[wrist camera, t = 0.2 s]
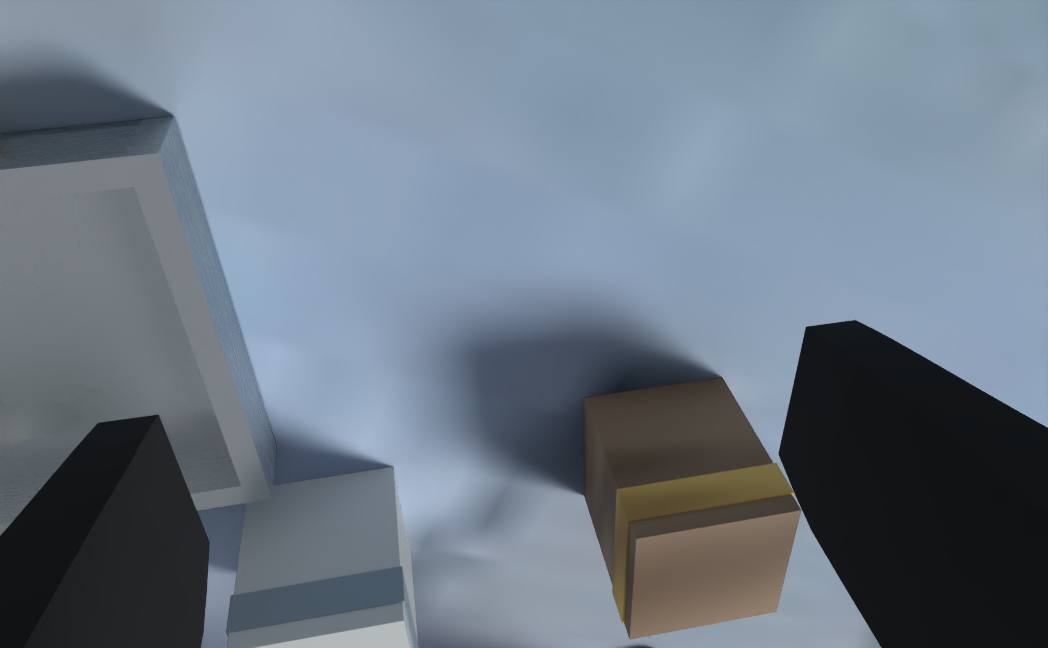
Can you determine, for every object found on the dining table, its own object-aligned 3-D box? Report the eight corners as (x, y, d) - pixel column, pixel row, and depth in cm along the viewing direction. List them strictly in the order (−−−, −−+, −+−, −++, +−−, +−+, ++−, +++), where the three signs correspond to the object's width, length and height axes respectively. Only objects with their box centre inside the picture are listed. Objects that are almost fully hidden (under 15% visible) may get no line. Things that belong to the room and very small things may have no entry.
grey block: (412, 557, 25) (425, 711, 21) (278, 580, 25) (264, 742, 21) (395, 464, 23) (405, 619, 19) (245, 487, 22) (223, 652, 18)
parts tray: (276, 447, 21) (272, 498, 20) (-96, 504, 20) (-130, 562, 19) (171, 106, 16) (154, 142, 14) (-349, 159, 15) (-425, 202, 13)
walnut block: (709, 475, 25) (777, 612, 21) (582, 496, 25) (627, 640, 21) (723, 374, 23) (803, 508, 19) (582, 396, 22) (634, 537, 18)
